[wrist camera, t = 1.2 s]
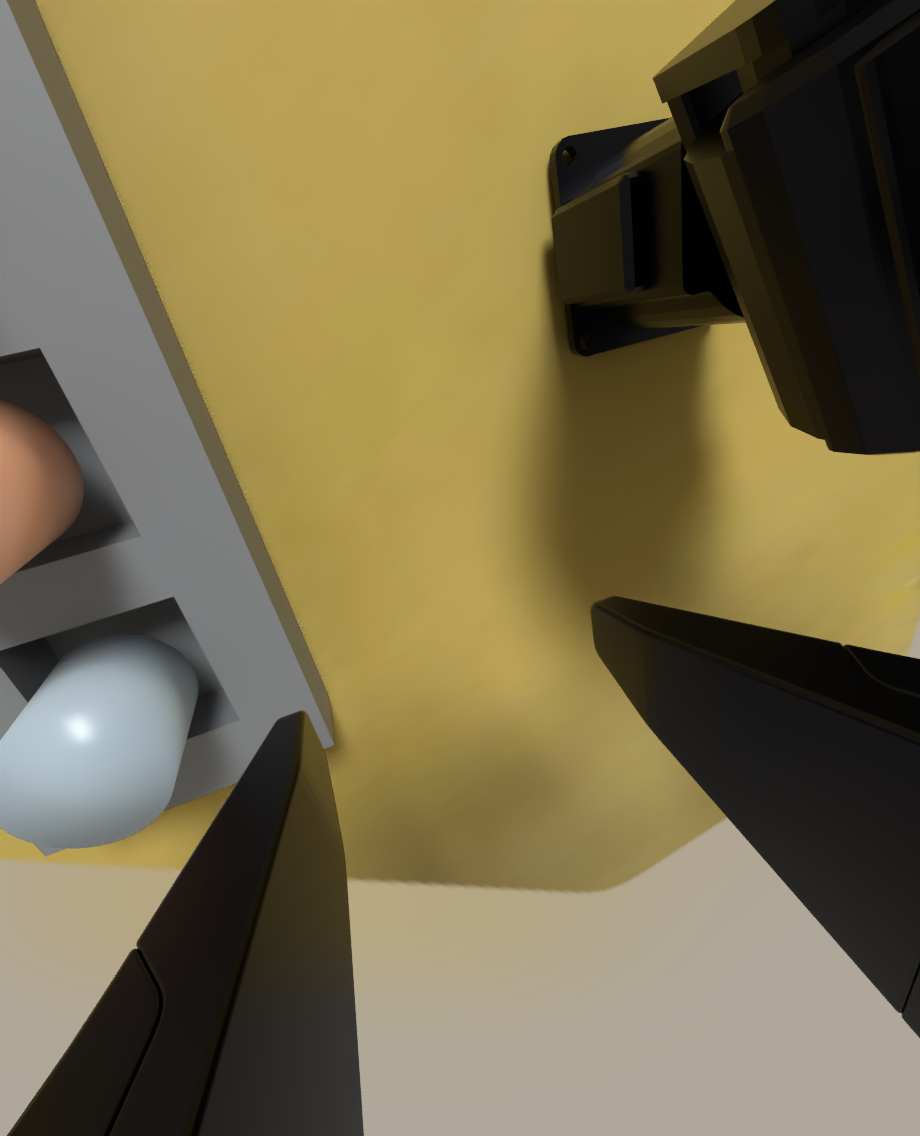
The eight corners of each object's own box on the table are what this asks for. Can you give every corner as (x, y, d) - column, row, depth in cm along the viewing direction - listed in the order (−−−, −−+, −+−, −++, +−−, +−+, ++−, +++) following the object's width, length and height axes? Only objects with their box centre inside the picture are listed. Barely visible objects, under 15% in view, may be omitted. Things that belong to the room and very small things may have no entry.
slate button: (164, 616, 15) (127, 694, 12) (219, 714, 17) (201, 808, 14) (19, 661, 15) (-66, 760, 11) (93, 759, 16) (39, 871, 13)
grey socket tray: (-27, -145, 11) (-127, -302, 8) (328, 697, 22) (334, 745, 19) (-637, -112, 9) (-1009, -299, 7) (77, 789, 20) (45, 856, 17)
